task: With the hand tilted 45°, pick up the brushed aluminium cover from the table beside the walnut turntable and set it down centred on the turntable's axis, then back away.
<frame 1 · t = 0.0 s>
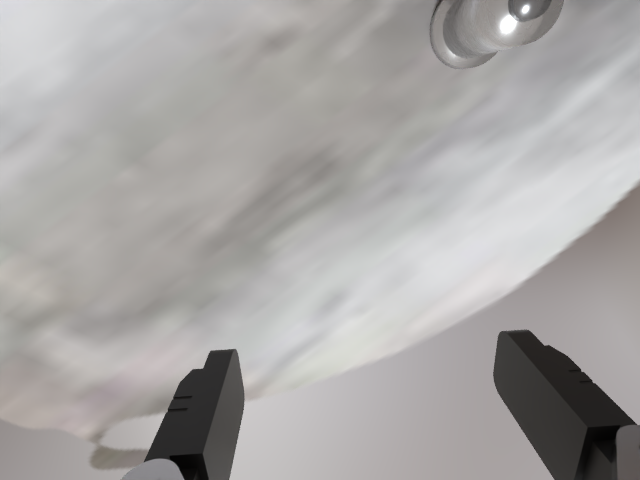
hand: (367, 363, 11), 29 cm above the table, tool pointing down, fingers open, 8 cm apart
cover: (466, 28, 34), on the table
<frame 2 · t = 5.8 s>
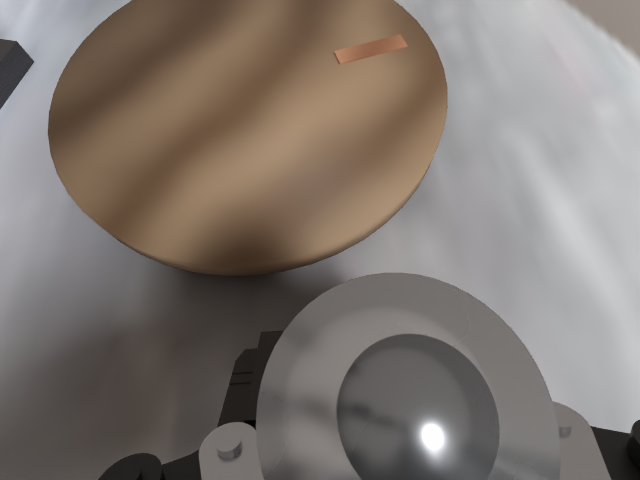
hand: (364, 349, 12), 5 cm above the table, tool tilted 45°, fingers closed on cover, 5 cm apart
turntable: (251, 91, 21), point 2 cm above the table, hinge at 0.0°
cover: (360, 409, 16), on the table, touching gripper
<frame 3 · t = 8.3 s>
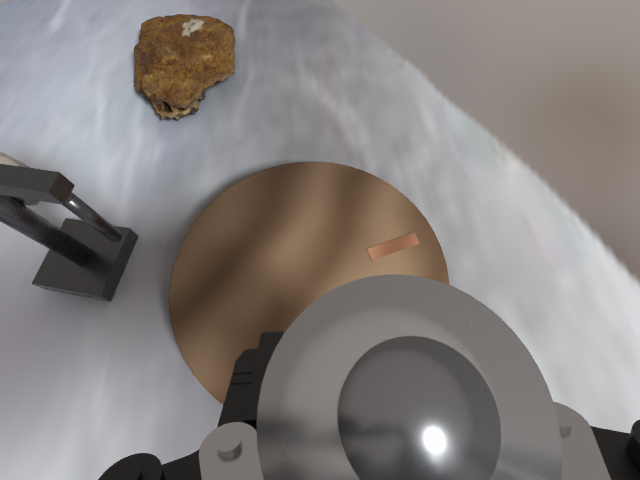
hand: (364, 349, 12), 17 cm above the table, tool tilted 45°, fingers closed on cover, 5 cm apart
turntable: (308, 278, 29), point 2 cm above the table, hinge at 0.0°
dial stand: (92, 261, 32), on the table
cover: (360, 410, 16), point 12 cm above the table, touching gripper
decorative rock: (191, 77, 42), on the table
when the fingers open (9 cm above the table, at t = 11.0 s): cover drops 1 cm, resting on turntable.
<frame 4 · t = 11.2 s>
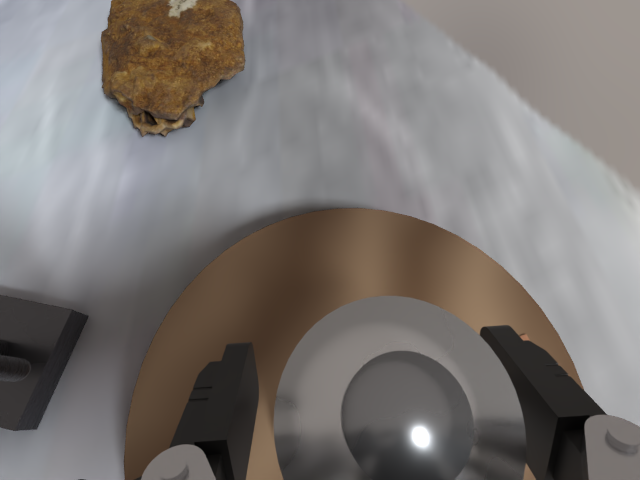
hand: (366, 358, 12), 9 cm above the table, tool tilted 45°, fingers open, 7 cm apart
turntable: (356, 409, 18), point 2 cm above the table, hinge at 0.0°, touching cover
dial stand: (15, 358, 21), on the table
cover: (358, 412, 17), point 3 cm above the table, touching turntable
decorative rock: (183, 75, 30), on the table
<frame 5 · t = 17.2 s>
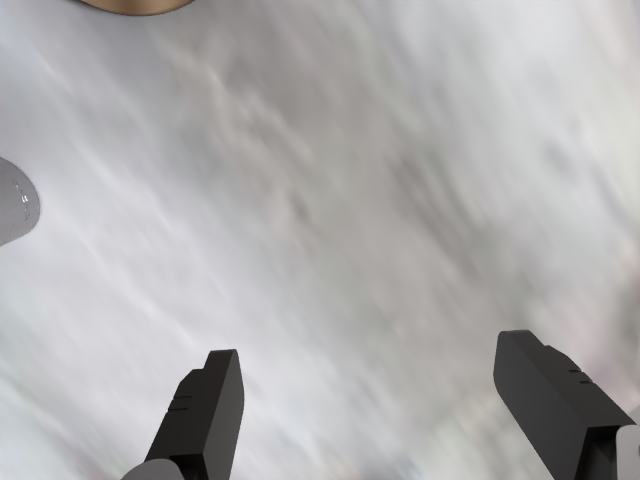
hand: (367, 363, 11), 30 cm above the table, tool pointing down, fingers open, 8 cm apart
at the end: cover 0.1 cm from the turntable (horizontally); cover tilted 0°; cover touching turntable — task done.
